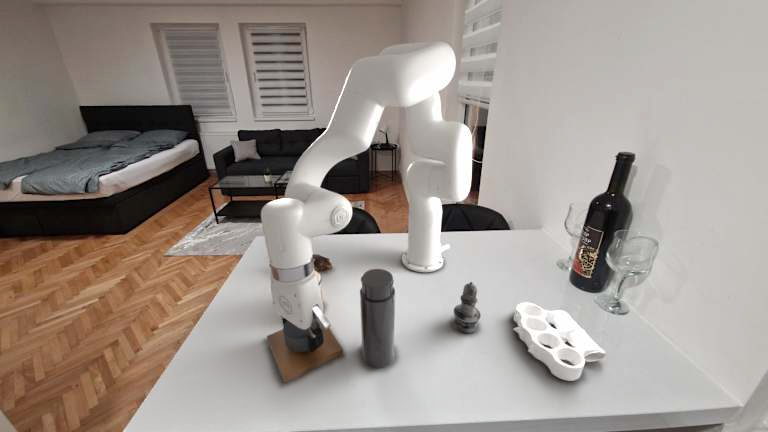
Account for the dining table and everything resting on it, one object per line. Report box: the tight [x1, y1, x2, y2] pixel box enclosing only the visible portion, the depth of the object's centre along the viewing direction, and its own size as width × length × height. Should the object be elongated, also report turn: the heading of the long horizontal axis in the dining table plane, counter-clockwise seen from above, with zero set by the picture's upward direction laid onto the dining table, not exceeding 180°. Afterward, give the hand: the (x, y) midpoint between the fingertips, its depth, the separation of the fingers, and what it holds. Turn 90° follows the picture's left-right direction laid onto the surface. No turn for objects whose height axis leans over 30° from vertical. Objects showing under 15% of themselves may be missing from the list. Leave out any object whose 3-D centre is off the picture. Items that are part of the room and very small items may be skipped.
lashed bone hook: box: [269, 253, 333, 272], centre depth 90 cm, size 9×5×18 cm
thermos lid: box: [282, 316, 318, 352], centre depth 62 cm, size 7×7×4 cm
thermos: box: [359, 268, 396, 369], centre depth 58 cm, size 6×6×19 cm
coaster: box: [266, 327, 344, 384], centre depth 63 cm, size 12×12×2 cm
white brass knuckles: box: [512, 302, 607, 382], centre depth 64 cm, size 3×18×15 cm
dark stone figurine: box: [453, 281, 482, 335], centre depth 67 cm, size 6×6×12 cm
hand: (303, 337), depth 63 cm, fingers closed on thermos lid, 7 cm apart
